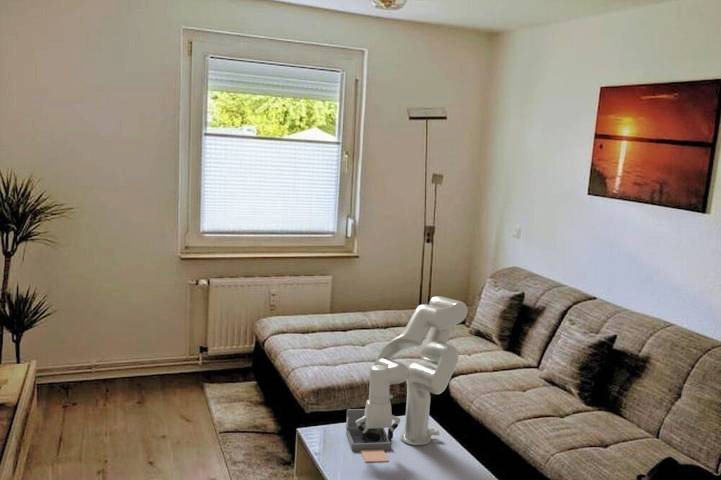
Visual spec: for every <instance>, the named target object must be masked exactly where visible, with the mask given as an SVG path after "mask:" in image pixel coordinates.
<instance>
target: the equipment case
mask: <svg viewBox="0 0 721 480" xmlns="http://www.w3.org/2000/svg"><path fill="white" fill-rule="evenodd" d="M364 414H365V408H354V409H353V408H352V409H351V408H349V409H348V408H347V409H346V418H345V419H346V422H345V429H346V431H345V436H346V438H347V440H348V444H349V447H350V449H351V451H361V450H379V449H383V450H392V441H391V442H390V441H389V440H388V433H387V432H386V430H385V428H375V429H377V430H378V432H379V434H380V435H381V436H382V437H383V440H384V442H367V443H364V442H357V443H354V440H353V437H352V436H362V431H361V430H360V429H359V428H358V426H357V424H356V422H355V421H356V420H358V419H360V418H362V417H363V416H364ZM364 424H365V423H364V421H363V422H362V423H360V425H361V426H362V427H363V426H364Z"/></svg>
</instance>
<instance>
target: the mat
mask: <svg viewBox="0 0 721 480" xmlns="http://www.w3.org/2000/svg"><path fill="white" fill-rule="evenodd" d="M360 453H361V455H362V458H363V460H364V462H365V463H385V462H390V460H389V457H388V455H387V454H386V452H385V449H379V450H360Z"/></svg>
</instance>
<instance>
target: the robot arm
mask: <svg viewBox="0 0 721 480" xmlns="http://www.w3.org/2000/svg"><path fill="white" fill-rule="evenodd" d="M468 311H469V310H468V307H467V305H466V303H465V302H463V301H461V300H456V299H452V298H449V297H445V296H439V295H435V296H433V297H431V298H430V301H429V302H428V304H427V303H425V304H424V303H423V304H420V305H418V306H417V307H416V308H415V311H413V314H412V316H410V319H409V320H408V322H407V324H406V326H405V328H404V329H403V332H402V333H401V334H400V335H399V336H396V337H395V338H393V339H391V340H390V342H387V344H385V345H384V346H383V347H382V349H381V351H380V352H379V354H378V355H377V358H376V360H375V361H374V362H375V363H374V364H373V366H371V368H370V369H369V386H368V387H369V390H368V391H369V392H368V399H367V400H366V402H365V406H364V407H365V408H364V409H365V414H364V416H363V417H362V418H360V419H358V420H356V421H355V422H356V424H357V426H358V428H359V429H360V430H361V431H362V435H361V440H362V441H363V443H368V442H367V441H368V439H367V433H366V431H367V430H368V429H369V428H370V429H371V428H384V429H385V428H388V429H387V436H388V440H389V441H390V442H391V443H392V439H394V431H395V429H397V428H398V427H399V424H400V422H401V419H400V418H399V417H398V416H395V415H393V413H392V404H391V399H393V397H394V394H390V385H398V384H402V383H405V382H406V392H407V393H406V405H405V419H404V430H403V431H401V432H400V434H399V438H400V440H401V441H402V442H404V443H405V444H408V445H412V446H424V445H425V446H426V445H428V444H430V443H431V442H432V436H440V431H439V430H435V428H429V421H430V408H431V407H430V406H431V394H434V395H440V394H442V393H443V392H445V390H446V388H447V386H448V385H449V382H450V380H451V378H452V375H453V373H454V371H455V369H456V368H457V365H458V361H459V351H458V350H457V348H456V347H455V346H453V345H452V344H449V343H448V341H449V339H450V337H451V333H452V332H451V331H452V329H451V327H453V326H455V325H458V324H460V323H462V322H463V321H465V319H466V318H467V315H468ZM421 345H422V346H421ZM420 346H421V348H420V353H419V355H420V358H421V359H422V360H423V361H425V362H426V363H430V364H432V365H434V366H436V367H433V366H431V365H427V364H425V363H422V362H412V363H410V365H409V366H407V365H405V364H403V363H400V362H398V361H396V360H393V358H394V357H395V356H396V355H397V354H398V353H399V352H402V351H404V350H409V349H413V348H418V347H420ZM363 421H364V423H365V424H364V426H363V427H362V426H361V425H360V423H362V422H363ZM393 421H395V422H393Z"/></svg>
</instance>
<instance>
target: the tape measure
mask: <svg viewBox="0 0 721 480" xmlns="http://www.w3.org/2000/svg"><path fill="white" fill-rule="evenodd" d="M366 433H367V440H369V441H374V442H379V441H380V440H381V434H379V432H378V430H377V429H375V428H371V429H370V428H369V429H368V430H367V431H366Z"/></svg>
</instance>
